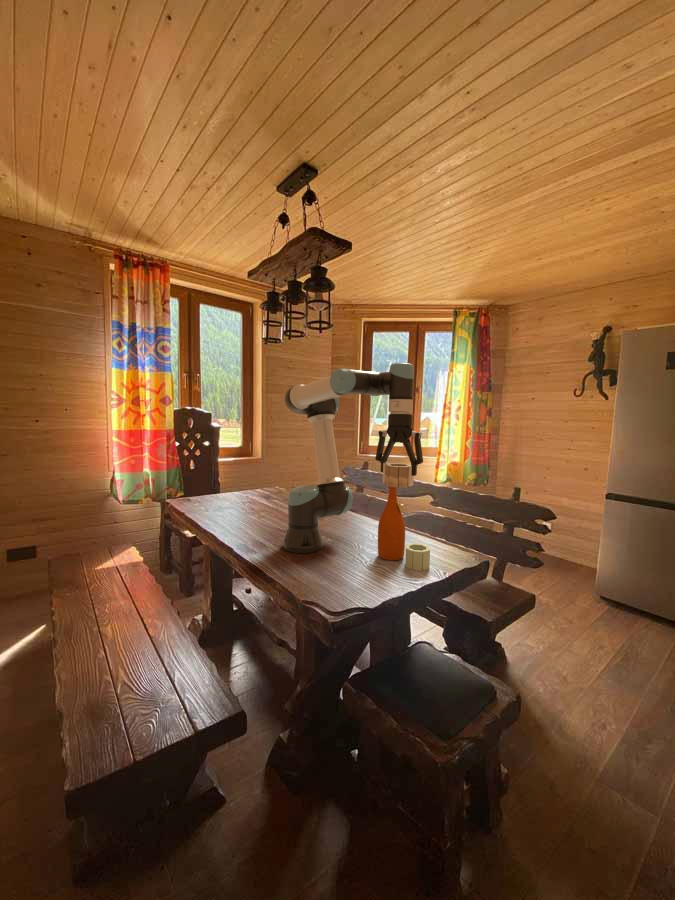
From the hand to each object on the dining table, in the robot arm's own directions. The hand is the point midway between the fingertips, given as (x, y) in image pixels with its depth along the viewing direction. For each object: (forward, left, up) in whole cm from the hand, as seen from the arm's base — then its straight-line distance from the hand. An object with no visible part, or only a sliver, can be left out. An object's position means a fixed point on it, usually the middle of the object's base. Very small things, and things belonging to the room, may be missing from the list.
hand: (397, 484), depth 120 cm
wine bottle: (-7, +12, -30) cm, 32 cm away
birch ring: (0, 0, 0) cm, 0 cm away
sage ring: (+4, +9, -29) cm, 31 cm away
